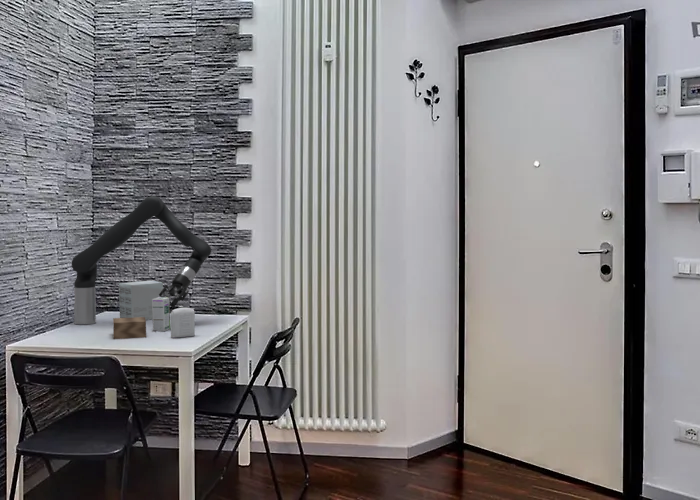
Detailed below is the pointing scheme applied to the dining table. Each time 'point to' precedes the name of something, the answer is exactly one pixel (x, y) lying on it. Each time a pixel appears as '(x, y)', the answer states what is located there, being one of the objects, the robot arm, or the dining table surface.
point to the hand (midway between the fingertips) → (165, 305)
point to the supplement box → (138, 298)
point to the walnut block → (129, 327)
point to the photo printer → (182, 322)
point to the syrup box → (161, 313)
